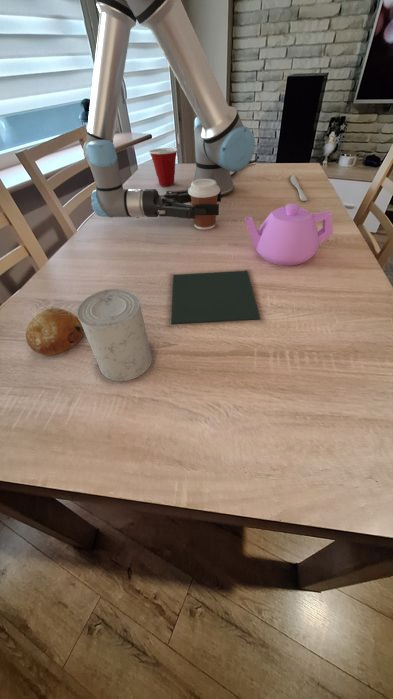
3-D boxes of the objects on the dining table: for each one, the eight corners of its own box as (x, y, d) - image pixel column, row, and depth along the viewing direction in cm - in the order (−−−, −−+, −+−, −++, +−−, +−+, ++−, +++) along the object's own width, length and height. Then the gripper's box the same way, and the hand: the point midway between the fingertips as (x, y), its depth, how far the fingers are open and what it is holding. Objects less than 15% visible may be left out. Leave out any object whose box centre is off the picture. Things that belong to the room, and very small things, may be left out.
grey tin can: (160, 347, 57) (150, 293, 48) (137, 386, 50) (121, 332, 42) (116, 337, 59) (98, 284, 50) (88, 374, 53) (63, 320, 44)
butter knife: (299, 200, 101) (308, 199, 101) (288, 175, 120) (296, 175, 120) (298, 201, 102) (308, 201, 101) (288, 177, 121) (296, 176, 120)
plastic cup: (182, 179, 124) (179, 144, 116) (178, 188, 117) (175, 152, 108) (156, 179, 125) (151, 145, 117) (150, 188, 118) (145, 153, 109)
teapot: (317, 237, 84) (329, 190, 75) (336, 266, 73) (352, 216, 65) (238, 241, 84) (241, 195, 76) (245, 270, 74) (249, 221, 65)
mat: (173, 275, 74) (173, 274, 73) (247, 271, 73) (247, 270, 73) (171, 324, 61) (171, 323, 61) (260, 319, 61) (260, 318, 61)
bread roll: (56, 335, 66) (25, 310, 60) (92, 315, 63) (63, 288, 58) (43, 369, 59) (7, 345, 54) (84, 349, 56) (50, 321, 51)
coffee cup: (185, 222, 95) (182, 180, 86) (212, 216, 97) (212, 175, 88) (196, 233, 89) (194, 190, 80) (224, 227, 91) (225, 184, 82)
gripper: (154, 202, 100) (221, 202, 98) (138, 231, 85) (217, 232, 83) (150, 177, 95) (222, 176, 93) (132, 204, 80) (217, 203, 78)
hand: (219, 202), depth 88 cm, fingers closed on coffee cup, 9 cm apart
